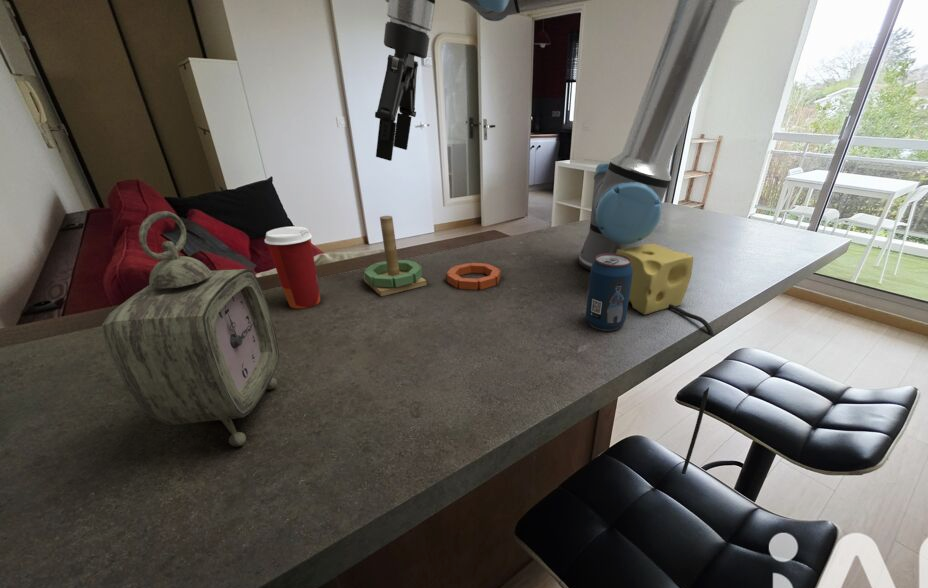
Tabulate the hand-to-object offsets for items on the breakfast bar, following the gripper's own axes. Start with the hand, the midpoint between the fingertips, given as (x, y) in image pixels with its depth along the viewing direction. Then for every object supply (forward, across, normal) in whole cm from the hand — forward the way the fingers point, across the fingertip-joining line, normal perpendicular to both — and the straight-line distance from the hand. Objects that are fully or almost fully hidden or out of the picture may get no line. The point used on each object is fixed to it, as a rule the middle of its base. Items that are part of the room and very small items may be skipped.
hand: (392, 153), depth 82 cm
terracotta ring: (+20, +5, +22) cm, 30 cm away
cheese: (+11, +15, +55) cm, 58 cm away
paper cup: (+28, +17, -9) cm, 34 cm away
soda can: (+13, +25, +45) cm, 53 cm away
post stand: (+25, +7, +5) cm, 26 cm away
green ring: (+23, +7, +5) cm, 25 cm away
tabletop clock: (+26, +50, -4) cm, 56 cm away
